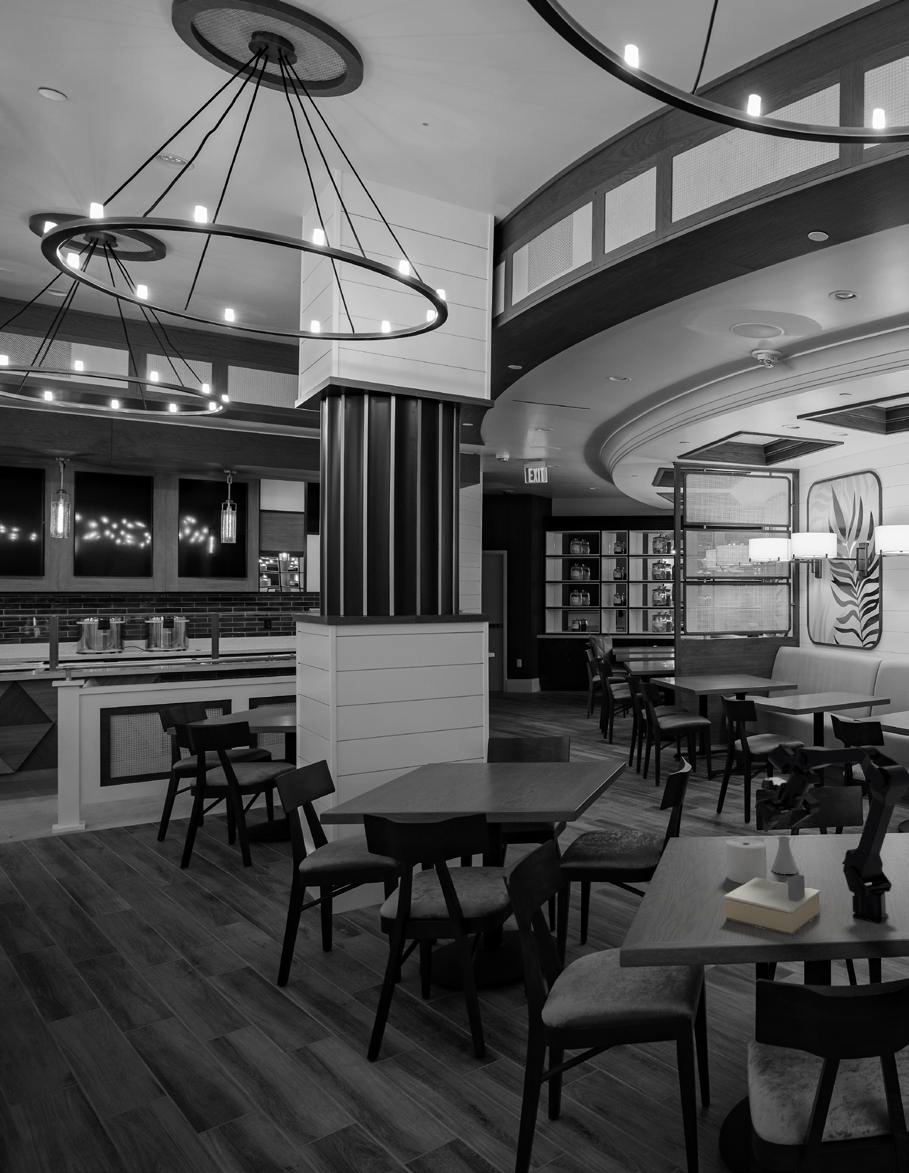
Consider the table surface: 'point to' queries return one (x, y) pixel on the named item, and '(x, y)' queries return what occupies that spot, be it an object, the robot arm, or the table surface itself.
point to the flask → (784, 858)
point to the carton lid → (774, 893)
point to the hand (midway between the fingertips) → (777, 828)
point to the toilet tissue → (746, 859)
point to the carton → (772, 915)
